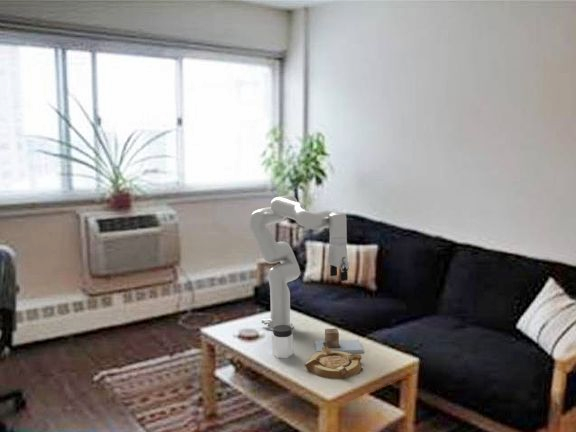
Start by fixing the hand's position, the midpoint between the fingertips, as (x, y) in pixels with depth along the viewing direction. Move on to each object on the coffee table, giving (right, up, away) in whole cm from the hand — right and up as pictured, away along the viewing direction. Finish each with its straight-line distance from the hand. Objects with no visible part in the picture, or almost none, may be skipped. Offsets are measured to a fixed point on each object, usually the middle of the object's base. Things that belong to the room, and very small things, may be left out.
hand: (338, 278), depth 251 cm
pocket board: (0, -31, 0) cm, 31 cm away
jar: (-25, -33, -6) cm, 42 cm away
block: (-3, -31, -1) cm, 31 cm away
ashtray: (-4, -35, -19) cm, 40 cm away
